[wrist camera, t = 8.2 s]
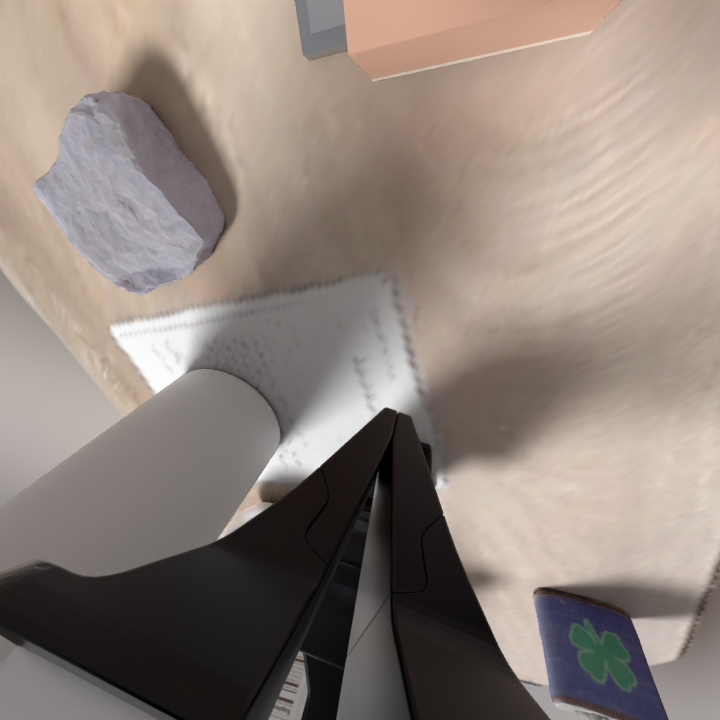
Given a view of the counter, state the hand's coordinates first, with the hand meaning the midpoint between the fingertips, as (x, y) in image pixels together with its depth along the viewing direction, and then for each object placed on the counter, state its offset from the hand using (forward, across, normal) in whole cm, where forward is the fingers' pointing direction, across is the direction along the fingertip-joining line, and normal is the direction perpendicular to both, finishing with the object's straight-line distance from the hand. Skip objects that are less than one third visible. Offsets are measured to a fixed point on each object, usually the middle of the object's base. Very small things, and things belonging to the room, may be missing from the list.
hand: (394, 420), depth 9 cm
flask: (+13, -26, +28) cm, 41 cm away
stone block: (+13, +21, 0) cm, 25 cm away
